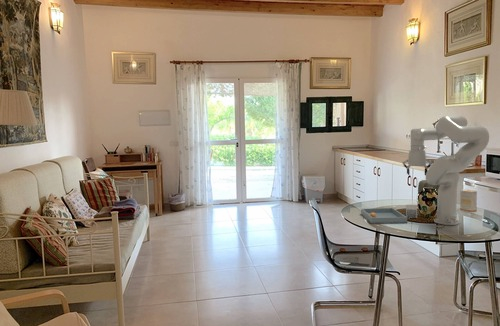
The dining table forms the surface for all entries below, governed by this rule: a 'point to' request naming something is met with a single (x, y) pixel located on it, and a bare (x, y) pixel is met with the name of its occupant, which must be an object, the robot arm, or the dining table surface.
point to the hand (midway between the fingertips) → (417, 175)
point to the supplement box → (468, 200)
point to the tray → (384, 216)
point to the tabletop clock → (426, 185)
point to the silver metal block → (411, 211)
